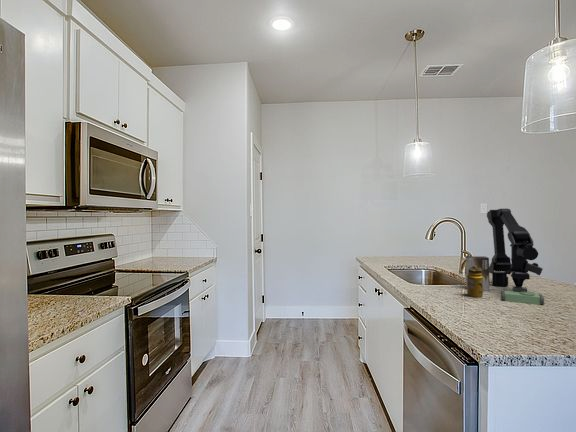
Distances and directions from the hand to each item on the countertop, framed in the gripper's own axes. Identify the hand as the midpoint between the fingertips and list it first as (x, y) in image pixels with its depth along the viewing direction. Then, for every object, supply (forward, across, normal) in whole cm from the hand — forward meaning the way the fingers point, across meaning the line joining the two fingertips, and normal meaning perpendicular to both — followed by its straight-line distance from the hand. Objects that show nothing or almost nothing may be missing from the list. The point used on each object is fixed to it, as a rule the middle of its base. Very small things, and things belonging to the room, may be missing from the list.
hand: (519, 291), depth 150 cm
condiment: (+2, -13, +18) cm, 22 cm away
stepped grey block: (+2, -4, 0) cm, 4 cm away
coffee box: (+2, +4, +17) cm, 17 cm away
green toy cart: (+2, -9, 0) cm, 9 cm away
